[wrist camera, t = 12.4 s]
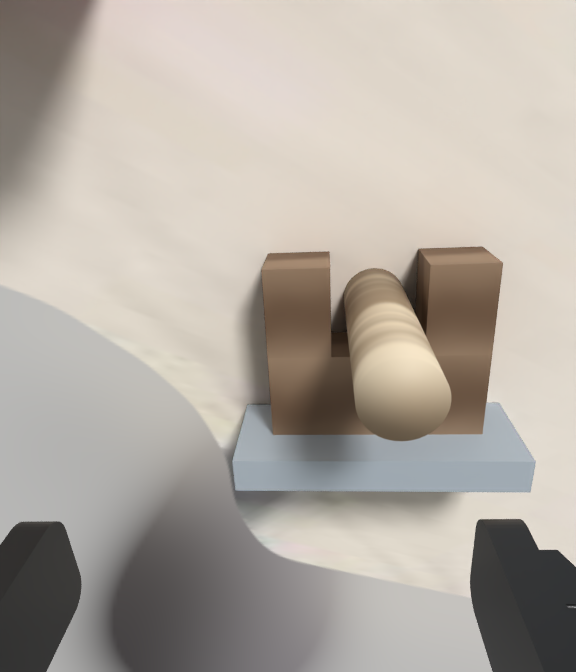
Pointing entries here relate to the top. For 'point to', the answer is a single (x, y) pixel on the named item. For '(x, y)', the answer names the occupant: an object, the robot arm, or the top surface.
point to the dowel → (392, 360)
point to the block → (333, 348)
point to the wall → (382, 459)
